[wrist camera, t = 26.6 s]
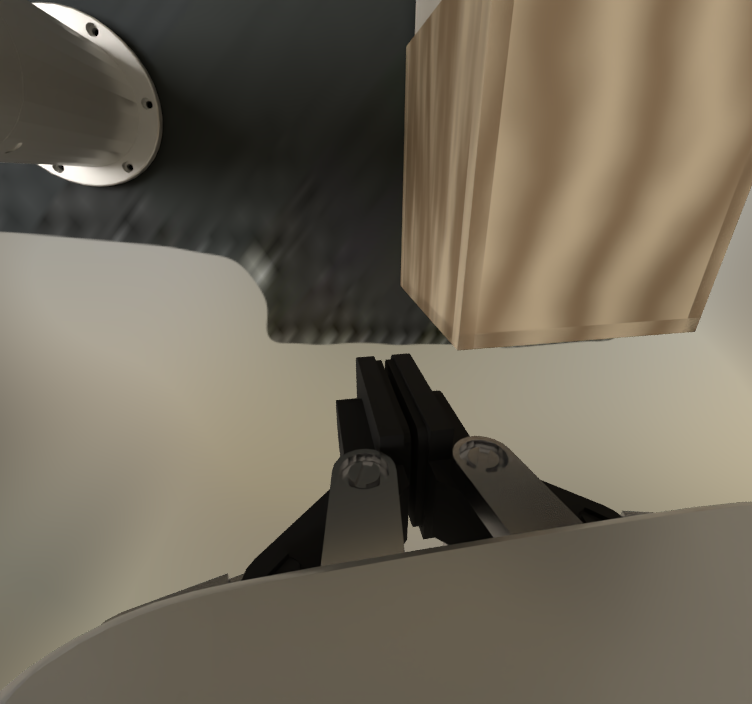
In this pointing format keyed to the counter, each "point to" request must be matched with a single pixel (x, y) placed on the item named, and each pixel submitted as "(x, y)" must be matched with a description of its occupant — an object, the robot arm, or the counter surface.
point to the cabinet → (573, 165)
